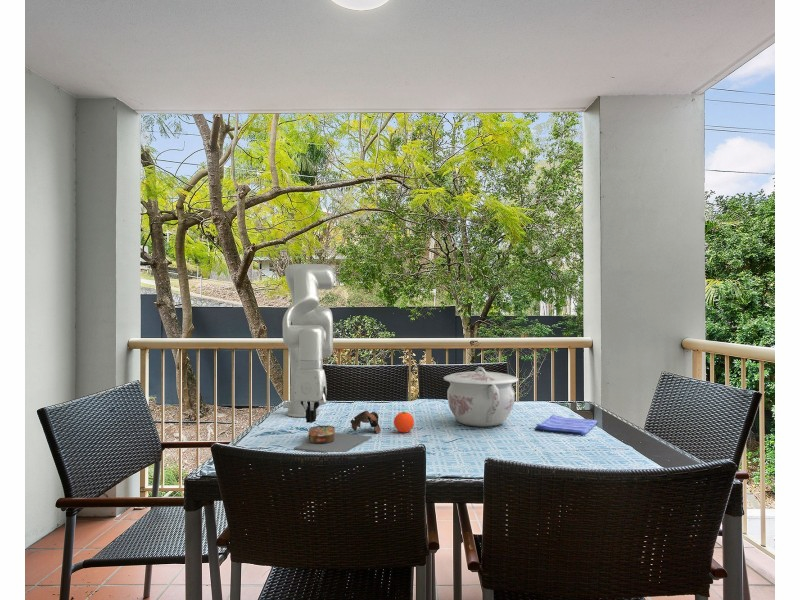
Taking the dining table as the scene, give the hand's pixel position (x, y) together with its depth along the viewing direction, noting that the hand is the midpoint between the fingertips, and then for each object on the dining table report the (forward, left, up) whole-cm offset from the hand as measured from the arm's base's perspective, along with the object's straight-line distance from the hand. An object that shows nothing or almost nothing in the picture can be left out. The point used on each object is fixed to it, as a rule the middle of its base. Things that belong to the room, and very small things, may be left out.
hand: (310, 421), depth 189 cm
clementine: (+23, +23, -6) cm, 33 cm away
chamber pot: (+44, +46, -6) cm, 64 cm away
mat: (+9, 0, -6) cm, 11 cm away
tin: (-1, 0, -5) cm, 5 cm away
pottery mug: (+11, +19, -6) cm, 23 cm away
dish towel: (+74, +52, -7) cm, 91 cm away
